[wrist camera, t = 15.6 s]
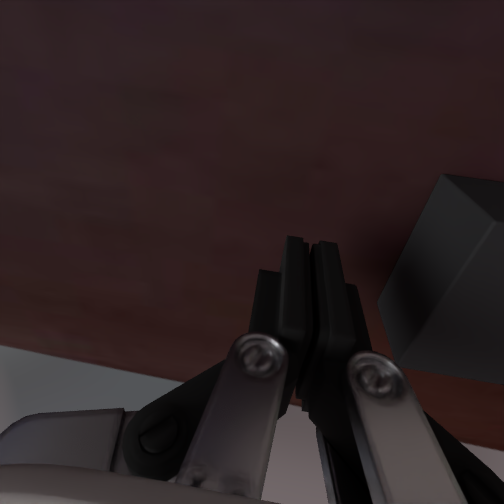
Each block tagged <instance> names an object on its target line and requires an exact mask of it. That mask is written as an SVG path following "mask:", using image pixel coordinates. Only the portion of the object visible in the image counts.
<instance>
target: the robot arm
mask: <svg viewBox="0 0 504 504" xmlns="http://www.w3.org/2000/svg"><path fill="white" fill-rule="evenodd" d="M295 385H296V391H295V393H296V398H297V399H302V411H305V412H309V419H310V420H311V421H312V422H313V423H314V424H315V426H316V437H317V442H318V448H319V453H320V459H321V464H322V470H323V475H324V481H325V487H326V491H327V498H328V503H329V504H504V482H503V481H502V480H501V479H500V478H499V477H498V476H497V475H496V474H495V473H494V472H493V471H492V470H491V469H490V468H489V467H487V466H486V465H485V464H484V463H483V462H482V461H481V460H479V459H478V458H477V457H476V456H475V455H474V454H473V453H471V452H470V451H469V450H468V449H467V448H466V447H465V446H463V445H462V444H461V443H460V442H459V441H458V440H457V439H455V438H454V437H453V436H452V435H451V434H450V433H449V432H447V431H446V430H445V429H444V428H443V427H442V426H441V425H439V424H438V423H437V422H436V421H435V420H434V419H433V418H431V417H430V416H429V415H428V414H427V413H426V412H425V411H423V410H422V408H421V405H420V403H419V401H418V399H417V397H416V395H415V393H414V391H413V389H412V387H411V385H410V383H409V381H408V378H407V377H406V375H405V374H404V372H403V370H402V369H401V368H400V367H399V366H398V365H397V364H396V363H395V362H394V361H393V360H391V359H390V358H388V357H387V356H385V355H383V354H380V353H378V352H375V351H372V347H371V342H370V338H369V334H368V330H367V326H366V322H365V318H364V314H363V310H362V306H361V302H360V298H359V294H358V290H357V287H356V286H355V285H353V284H347V283H345V280H344V275H343V270H342V265H341V260H340V255H339V250H338V245H337V243H332V242H326V241H319V244H313V245H312V248H311V252H310V256H309V243H305V242H303V238H300V237H294V236H288V235H287V237H286V241H285V246H284V251H283V256H282V261H281V266H280V271H279V272H273V271H267V270H261V269H259V274H258V280H257V286H256V292H255V297H254V303H253V309H252V315H251V320H250V326H249V332H248V333H246V334H243V335H241V336H240V337H238V338H237V339H236V340H235V341H234V343H233V344H232V346H231V348H230V350H229V352H228V355H227V357H226V359H225V360H223V361H221V362H220V363H218V364H216V365H214V366H213V367H211V368H209V369H208V370H206V371H204V372H202V373H201V374H199V375H197V376H196V377H194V378H192V379H190V380H189V381H187V382H185V383H184V384H182V385H180V386H179V387H177V388H175V389H174V390H172V391H170V392H168V393H167V394H165V395H163V396H161V397H160V398H158V399H157V400H155V401H153V402H151V403H150V404H148V405H146V406H145V407H143V408H142V409H141V410H140V411H127V412H125V411H124V408H116V409H99V410H85V411H84V410H83V411H67V412H52V413H38V414H33V415H29V416H25V417H23V418H22V419H20V420H18V421H16V422H14V423H13V424H11V425H10V426H9V427H8V428H7V429H6V430H4V431H3V432H2V433H1V434H0V504H279V503H274V502H269V501H264V500H261V496H262V491H263V486H264V481H265V476H266V472H267V466H268V462H269V457H270V452H271V447H272V442H273V437H274V433H275V428H276V423H277V420H278V419H279V418H280V417H282V416H283V415H284V414H285V413H286V411H287V408H288V405H289V402H290V399H291V396H292V394H293V391H294V388H295Z"/></svg>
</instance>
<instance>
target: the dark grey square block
mask: <svg viewBox="0 0 504 504" xmlns="http://www.w3.org/2000/svg"><path fill="white" fill-rule="evenodd" d="M377 305H378V308H379V311H380V315H381V318H382V321H383V324H384V328H385V331H386V334H387V337H388V341H389V344H390V347H391V350H392V354H393V357H394V360H395V363H396V364H397V365H398V366H399V367H402V368H408V369H414V370H420V371H426V372H431V373H437V374H443V375H449V376H455V377H461V378H467V379H473V380H478V381H484V382H490V383H496V384H502V385H504V183H503V182H496V181H489V180H482V179H475V178H468V177H461V176H454V175H447V174H441V176H440V177H439V179H438V181H437V183H436V185H435V187H434V189H433V191H432V193H431V195H430V197H429V199H428V201H427V203H426V205H425V207H424V209H423V211H422V213H421V215H420V217H419V219H418V221H417V223H416V225H415V227H414V229H413V231H412V233H411V235H410V237H409V239H408V241H407V243H406V245H405V247H404V249H403V251H402V253H401V255H400V257H399V259H398V261H397V263H396V265H395V267H394V269H393V271H392V273H391V275H390V277H389V279H388V281H387V283H386V285H385V287H384V289H383V291H382V293H381V295H380V297H379V299H378V301H377Z"/></svg>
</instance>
